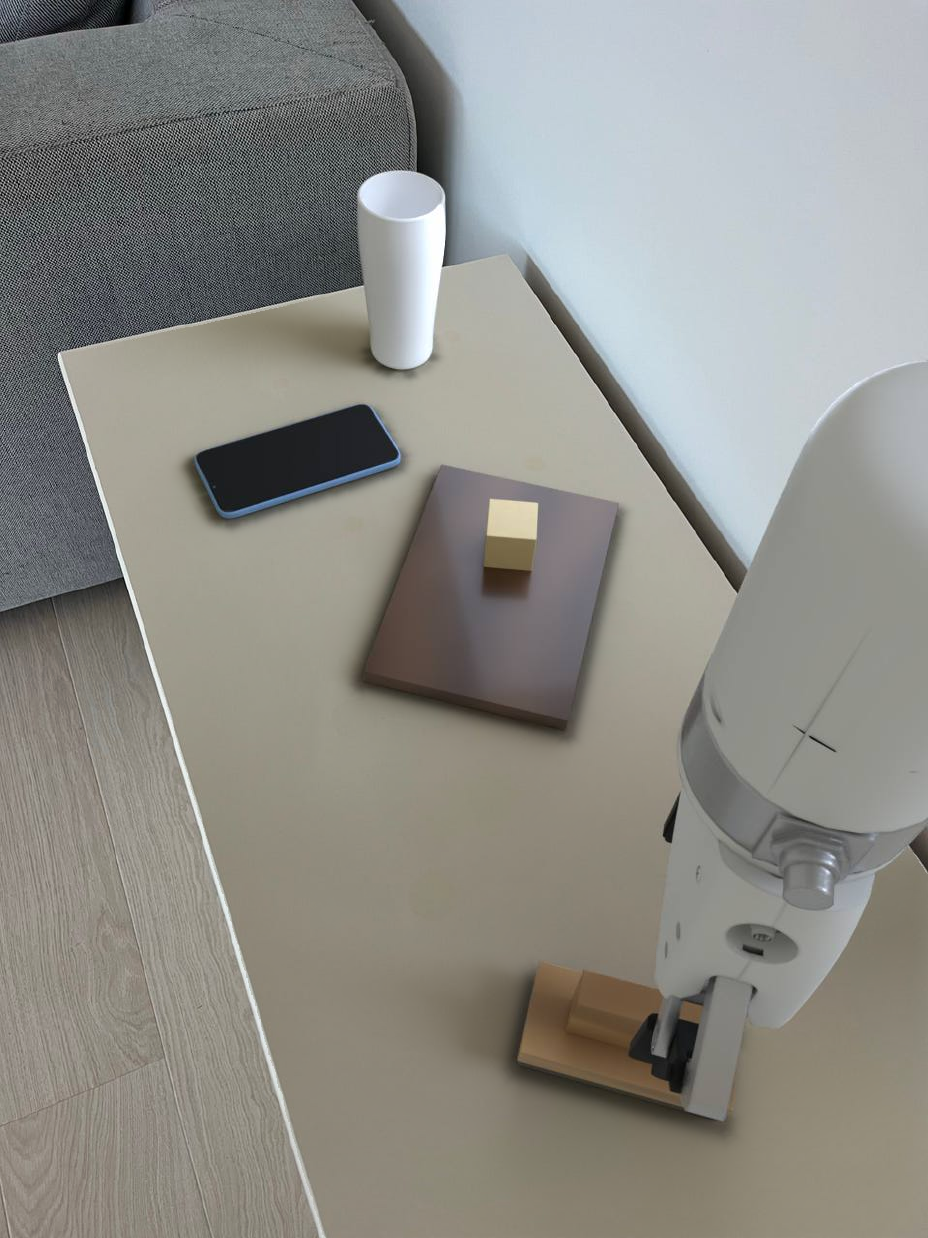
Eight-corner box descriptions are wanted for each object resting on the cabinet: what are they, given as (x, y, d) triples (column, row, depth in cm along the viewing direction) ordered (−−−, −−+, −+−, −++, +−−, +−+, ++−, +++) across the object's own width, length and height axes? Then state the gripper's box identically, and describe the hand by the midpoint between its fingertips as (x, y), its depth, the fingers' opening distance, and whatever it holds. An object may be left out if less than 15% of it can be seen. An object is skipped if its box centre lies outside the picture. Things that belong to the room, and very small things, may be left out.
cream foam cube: (533, 534, 80) (538, 502, 77) (531, 571, 78) (536, 539, 75) (486, 530, 80) (489, 498, 77) (483, 567, 78) (486, 535, 75)
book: (616, 513, 83) (619, 502, 82) (566, 730, 71) (568, 721, 70) (440, 474, 84) (441, 464, 83) (363, 681, 73) (363, 671, 72)
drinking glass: (425, 319, 95) (428, 162, 83) (452, 368, 92) (459, 211, 80) (352, 335, 94) (344, 176, 82) (376, 385, 90) (372, 227, 78)
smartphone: (405, 457, 84) (221, 517, 80) (405, 465, 85) (222, 524, 80) (367, 397, 88) (189, 451, 83) (367, 405, 89) (191, 458, 84)
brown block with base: (534, 977, 62) (549, 928, 55) (729, 1030, 60) (768, 985, 54) (514, 1066, 59) (528, 1025, 52) (719, 1124, 57) (758, 1088, 51)
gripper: (945, 1077, 27) (752, 1191, 40) (937, 558, 37) (785, 791, 50) (645, 996, 27) (556, 1135, 41) (718, 508, 37) (627, 751, 51)
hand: (682, 945), depth 46 cm, fingers open, 9 cm apart
